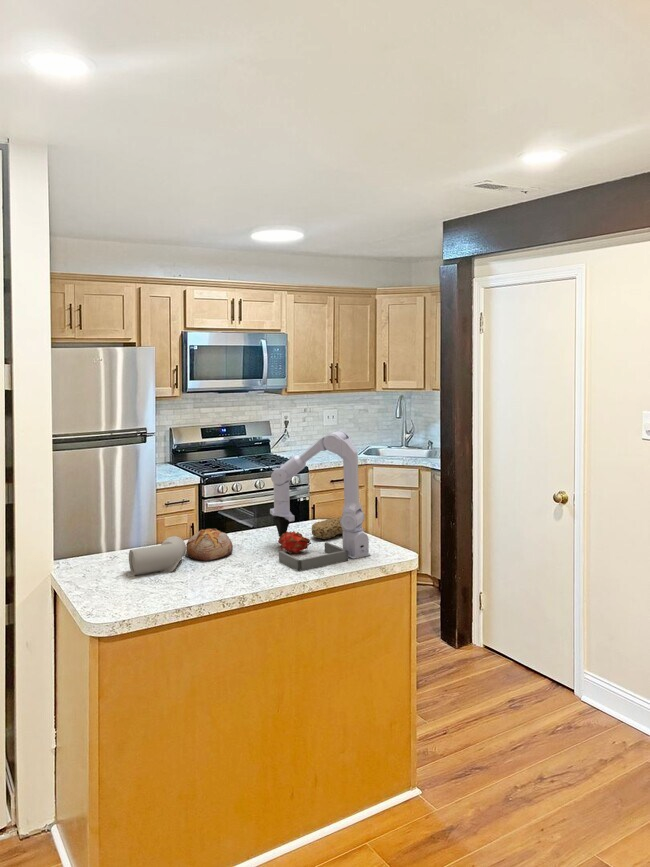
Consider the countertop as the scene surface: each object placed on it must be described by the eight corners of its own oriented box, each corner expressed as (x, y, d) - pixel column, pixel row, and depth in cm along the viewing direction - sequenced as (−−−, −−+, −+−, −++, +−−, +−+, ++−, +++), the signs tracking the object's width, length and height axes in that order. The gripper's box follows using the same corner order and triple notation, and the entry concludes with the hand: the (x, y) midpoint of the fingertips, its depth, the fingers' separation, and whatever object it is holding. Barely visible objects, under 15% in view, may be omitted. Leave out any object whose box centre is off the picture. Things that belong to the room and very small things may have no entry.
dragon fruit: (275, 555, 253) (308, 560, 253) (275, 548, 246) (309, 553, 246) (279, 533, 257) (312, 538, 257) (279, 525, 250) (312, 530, 250)
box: (348, 560, 242) (348, 550, 242) (298, 571, 231) (298, 560, 231) (326, 551, 253) (326, 542, 252) (278, 561, 242) (278, 551, 241)
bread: (185, 566, 241) (183, 538, 240) (188, 549, 260) (185, 523, 259) (233, 561, 243) (231, 533, 242) (232, 544, 262) (230, 518, 261)
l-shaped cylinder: (181, 574, 225) (192, 555, 245) (172, 543, 224) (184, 527, 244) (127, 586, 226) (143, 566, 246) (119, 555, 225) (135, 538, 244)
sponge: (346, 531, 285) (301, 527, 276) (351, 513, 283) (306, 508, 274) (360, 545, 273) (314, 541, 264) (365, 527, 272) (319, 522, 263)
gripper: (262, 498, 261) (263, 533, 262) (282, 505, 249) (283, 542, 250) (279, 495, 265) (279, 531, 266) (299, 502, 253) (299, 539, 254)
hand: (282, 536), depth 259 cm, fingers closed
